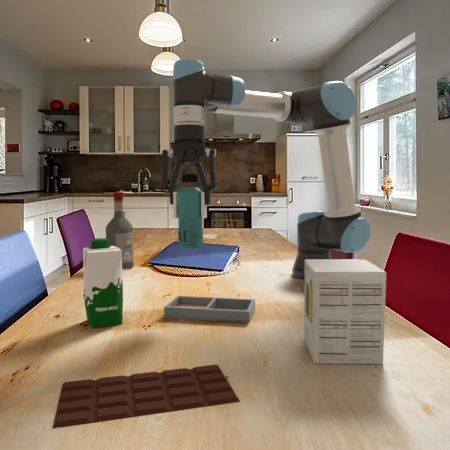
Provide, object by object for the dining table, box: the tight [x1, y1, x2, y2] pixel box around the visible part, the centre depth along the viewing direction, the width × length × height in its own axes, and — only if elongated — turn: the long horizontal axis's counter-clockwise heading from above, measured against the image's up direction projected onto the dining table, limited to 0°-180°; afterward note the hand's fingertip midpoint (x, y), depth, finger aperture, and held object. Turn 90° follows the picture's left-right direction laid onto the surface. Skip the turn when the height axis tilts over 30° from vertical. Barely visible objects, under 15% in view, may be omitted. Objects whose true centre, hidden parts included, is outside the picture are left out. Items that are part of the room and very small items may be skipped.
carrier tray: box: [163, 295, 256, 324], centre depth 111 cm, size 21×11×3 cm, turn 79°
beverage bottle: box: [177, 173, 204, 249], centre depth 109 cm, size 6×7×20 cm
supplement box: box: [303, 258, 387, 365], centre depth 86 cm, size 13×13×18 cm
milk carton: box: [82, 237, 124, 329], centre depth 104 cm, size 9×9×20 cm
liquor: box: [105, 191, 135, 269], centre depth 170 cm, size 9×9×30 cm
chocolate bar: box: [52, 363, 241, 429], centre depth 70 cm, size 27×14×1 cm, turn 105°
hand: (190, 217), depth 110 cm, fingers closed on beverage bottle, 6 cm apart
